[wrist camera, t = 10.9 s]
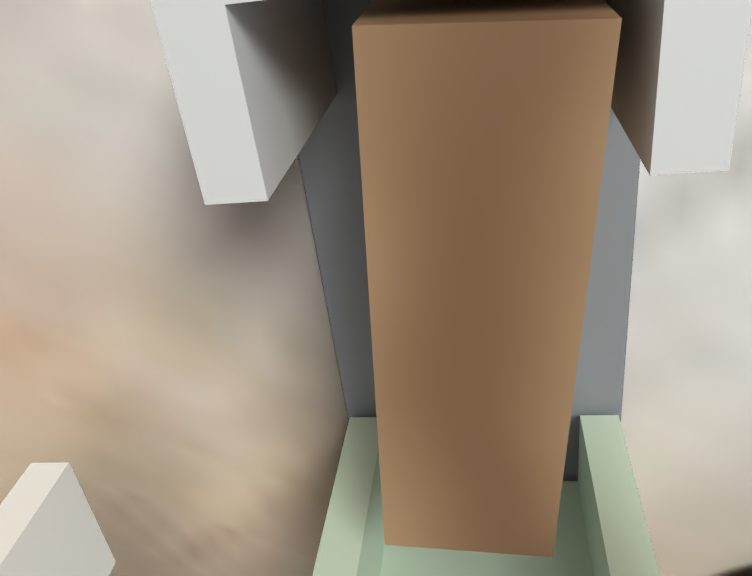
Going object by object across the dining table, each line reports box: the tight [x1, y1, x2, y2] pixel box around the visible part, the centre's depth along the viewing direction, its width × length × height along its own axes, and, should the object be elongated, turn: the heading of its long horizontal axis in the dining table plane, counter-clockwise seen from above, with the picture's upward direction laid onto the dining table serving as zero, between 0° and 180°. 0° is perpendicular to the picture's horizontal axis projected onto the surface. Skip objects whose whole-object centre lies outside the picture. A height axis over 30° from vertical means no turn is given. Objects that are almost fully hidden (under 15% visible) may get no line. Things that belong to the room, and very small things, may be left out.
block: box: [352, 0, 622, 557], centre depth 16 cm, size 4×12×7 cm, turn 3°
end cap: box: [312, 415, 660, 576], centre depth 21 cm, size 9×4×7 cm, turn 97°
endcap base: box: [149, 0, 752, 481], centre depth 18 cm, size 9×20×7 cm, turn 7°
